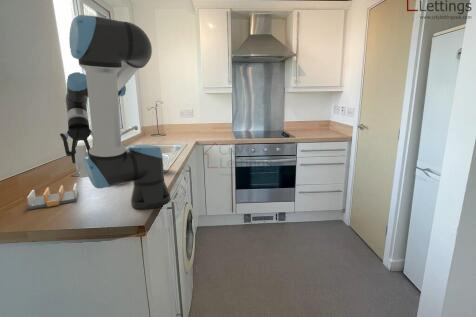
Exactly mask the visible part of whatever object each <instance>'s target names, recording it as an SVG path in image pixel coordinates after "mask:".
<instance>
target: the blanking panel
mask: <svg viewBox="0 0 476 317" xmlns="http://www.w3.org/2000/svg"><path fill="white" fill-rule="evenodd" d="M75 149H76V155H77V161H78V166H79V171H78V172H79V177H80V179H81V178H89V177H88V174H87V172H86V169H85V165H84V158H85V157H86V152H87V149H86V146H85V144H84V145H83V144H82V145H77V146H76V148H75Z"/></svg>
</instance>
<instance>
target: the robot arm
mask: <svg viewBox="0 0 476 317" xmlns="http://www.w3.org/2000/svg"><path fill="white" fill-rule="evenodd" d="M68 38H69V42H68V43H69V49H70V54H71V57H72V58H74V59H76V60H78V66H79V67H81V68H82V69H83V70H84V71H85V73H82V72H80V71H73V72H71V73H69V74H68V75H67V79H66V95H65V104H66V117H67V118H66V119H67V132H65V133H62V132H61V133H60V134H59V136H60V138H61V140H62V141H63V147H64V152H65V156H66V157H71V162H72V164H75V169H76V172H79V166H78V161H77V155H76V149H75V148H76V146H78V144H79V141H83V144H84V145H85V147H86V157H85V158H84V165H85V169H86V172H87V174H88V177H87V178H88V179H89V181H90V182H91V184H92V186H93V187H94V188H96V189H105V188H110V187H111V188H112V187H113V186H118V185H123V184H127V183H130V182H133V188H132V193H131V198H130V206H131V207H132V208H134V209H137V210H150V209H151V210H152V209H156V208H160V207H162V206H165V205H167V204H168V203H170V202H171V200H172V199H171V198H172V197H171V193H170V191H169V189H168V186H167V184H166V182H165V174H164V159H163V160H162V158H163V152H162V149H161V148H160V147H159V146H157V145H153V144H151V145H150V144H133V145H130V146H128V150H127V148H126V146H124V145H123V144H122V135H121V133H122V132H121V116H120V105H119V104H120V100H119V97H124V96H126V92H127V88H126V85H127V83H128V82H129V80H131V78H132V77H133V76H134V75H135V74H136V72H137V71H138V70H139V69H143V68H144V67H145V66H146V65H148V63H149V62H150V60H151V58H152V52H153V47H152V43H151V40H150V38H149V37H148V35H147V33H146V32H145V31H144V29H142V28H141V27H140V26H138V25H136V24H134V23H132V22H129V21H122V20H115V19H112V18H106V17H100V16H95V15H88V14H87V15H85V14H77V15H75V16H74V17H73V18H72V20H71V24H70V28H69V36H68ZM87 105H88V106H87ZM88 107H89V115H88ZM89 116H90V122H89ZM90 126H91V129H90ZM90 136H91V137H92V146H91V145H90V143H89V140H88V138H89V137H90ZM69 138H71V139H72V143H71V150H70V146H69V142H68V139H69ZM161 152H162V153H161Z"/></svg>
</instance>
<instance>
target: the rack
mask: <svg viewBox="0 0 476 317" xmlns="http://www.w3.org/2000/svg"><path fill="white" fill-rule="evenodd" d="M50 191H51V190H50V187H46V189H45V191H44V192H43V194H42V195H39V196H36V193H35V189H32V190H31V191H30V192H29V194H28V196H27V197H26V199H27V203H28V207H27V208H28V210H34V209H40V208H45V207H47V208H48V207H53V206H54V207H55V206H59V205H63V204H67V203H74V202H78V196H79V190H78V185H77V183H76V182H75V183H74V184H73V189H72V190H69V191H65V189H64V185H60V187H59V190H58V192H57V193H52V194H51V192H50Z"/></svg>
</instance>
